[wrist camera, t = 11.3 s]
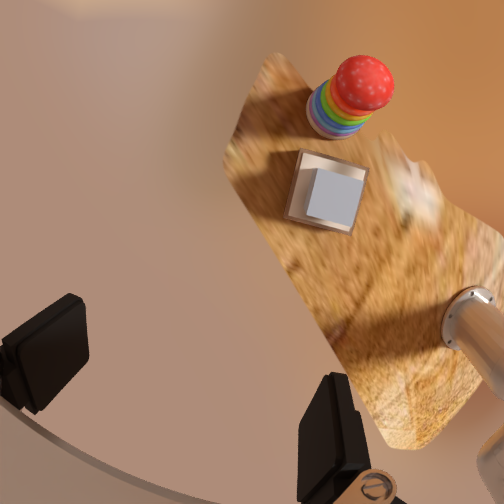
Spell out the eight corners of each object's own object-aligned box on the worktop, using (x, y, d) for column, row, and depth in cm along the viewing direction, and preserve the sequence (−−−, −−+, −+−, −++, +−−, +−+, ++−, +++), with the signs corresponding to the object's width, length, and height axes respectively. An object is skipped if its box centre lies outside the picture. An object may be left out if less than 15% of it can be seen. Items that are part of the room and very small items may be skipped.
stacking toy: (295, 122, 36) (300, 82, 19) (321, 76, 34) (344, 12, 16) (345, 151, 37) (391, 137, 19) (371, 105, 34) (427, 64, 16)
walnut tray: (362, 168, 37) (370, 168, 33) (345, 229, 40) (351, 236, 36) (299, 150, 37) (300, 147, 33) (283, 213, 40) (283, 218, 36)
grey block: (352, 179, 34) (364, 181, 28) (341, 218, 35) (351, 227, 29) (313, 168, 34) (318, 167, 28) (303, 207, 35) (306, 214, 30)
